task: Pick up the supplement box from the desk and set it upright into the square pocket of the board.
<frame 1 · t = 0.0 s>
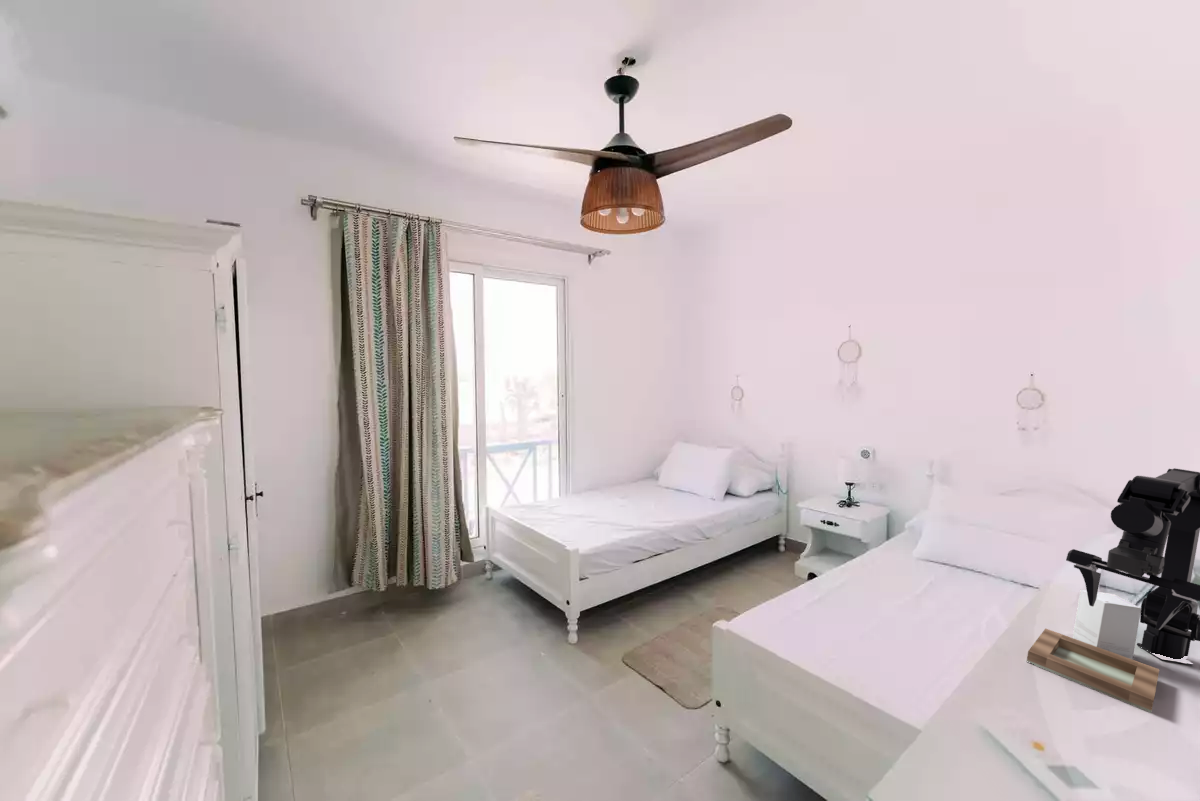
hand: (1123, 617, 96), 15 cm above the table, tool pointing down, fingers open, 9 cm apart
pocket board: (1091, 671, 104), on the table
supplement box: (1100, 651, 113), on the table
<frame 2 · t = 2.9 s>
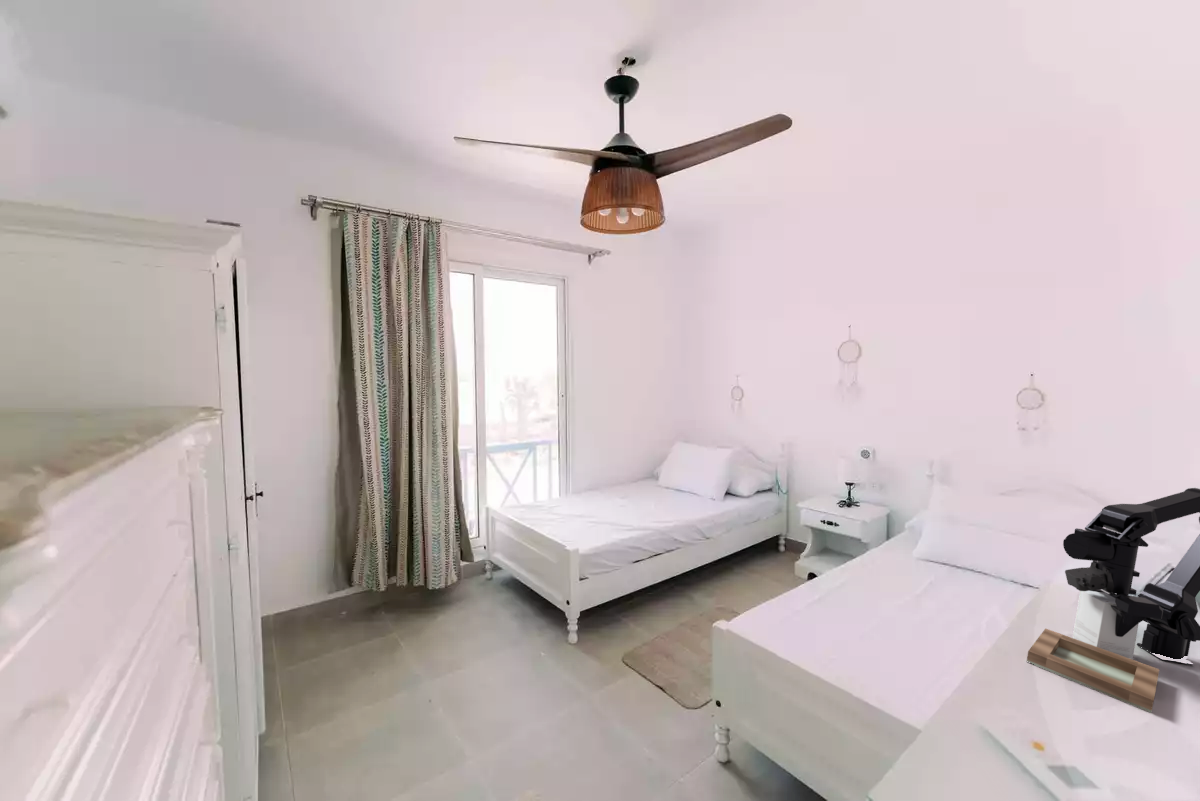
hand: (1104, 627, 113), 6 cm above the table, tool pointing down, fingers closed on supplement box, 7 cm apart
supplement box: (1100, 651, 113), on the table, touching gripper
when the fingers open (7 cm above the table, at t = 8.1 s): supplement box drops 1 cm, resting on pocket board.
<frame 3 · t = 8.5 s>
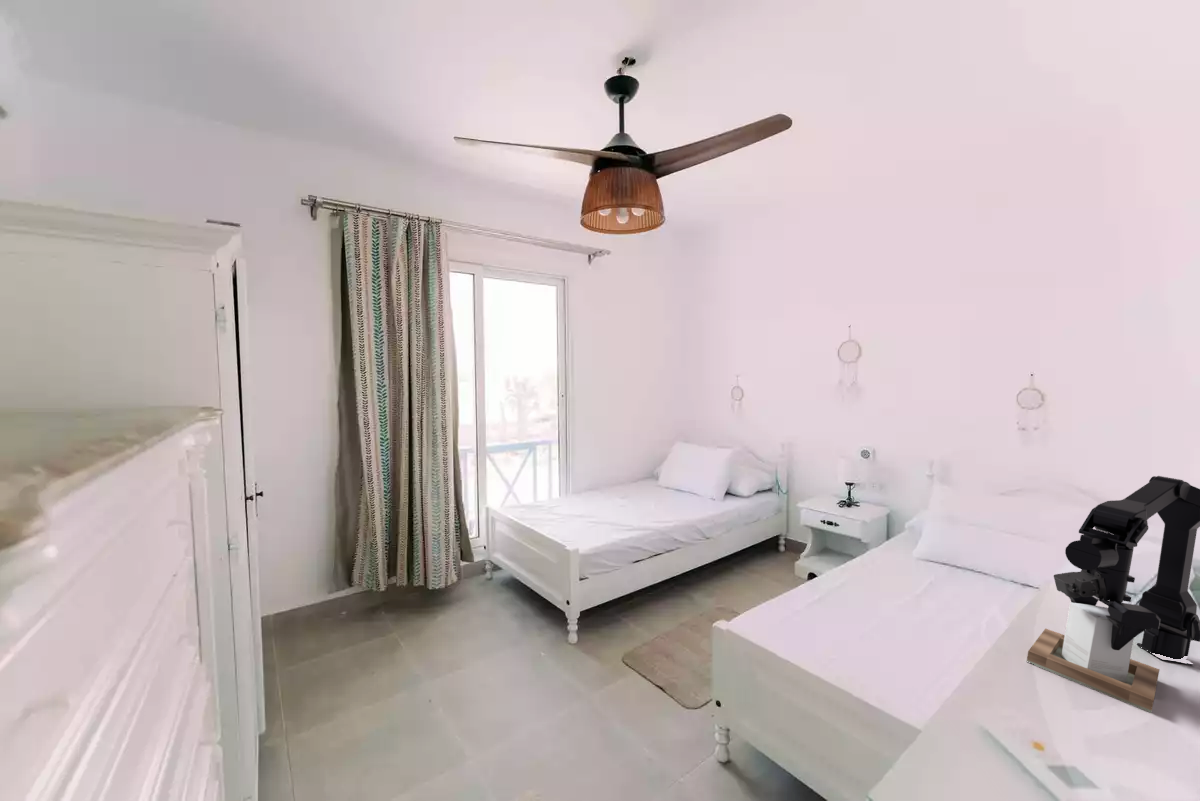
hand: (1097, 637, 103), 7 cm above the table, tool pointing down, fingers open, 9 cm apart
supplement box: (1092, 669, 104), resting on pocket board
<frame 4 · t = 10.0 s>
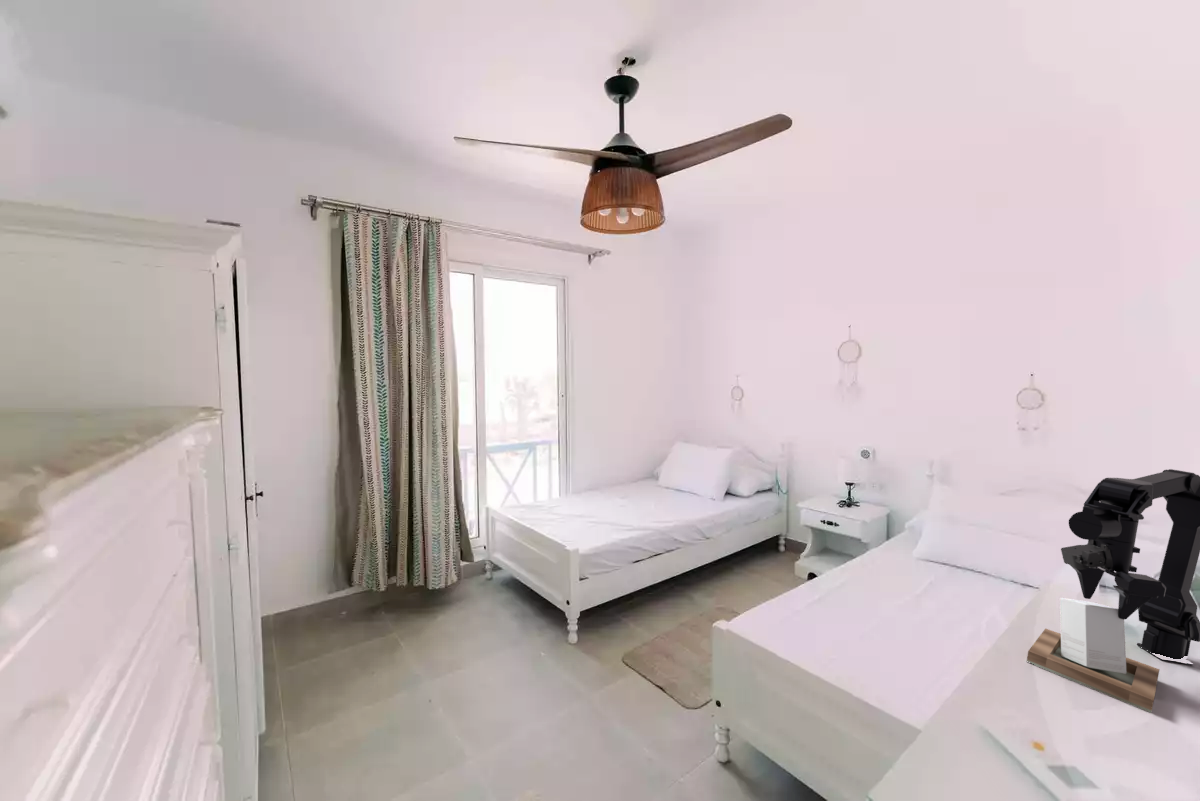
hand: (1103, 608, 106), 13 cm above the table, tool pointing down, fingers open, 9 cm apart
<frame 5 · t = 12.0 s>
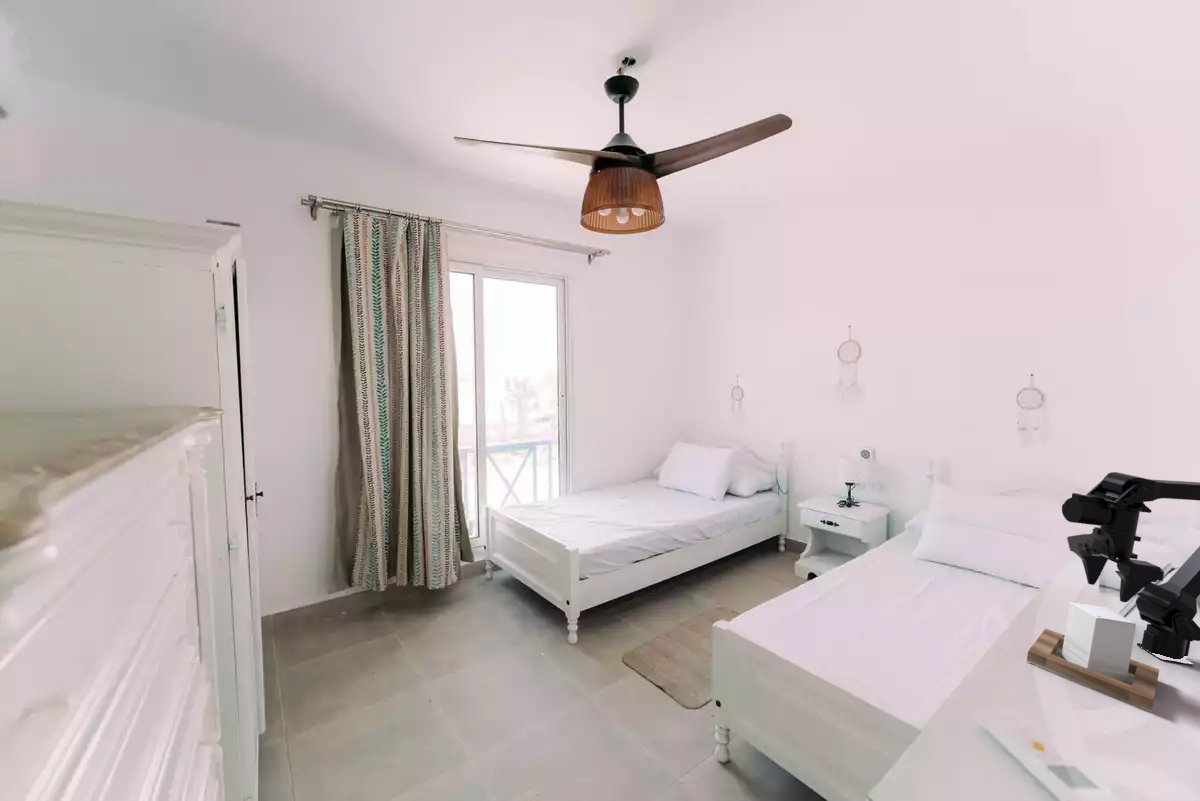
hand: (1106, 592, 114), 13 cm above the table, tool pointing down, fingers open, 9 cm apart
at the end: supplement box inside the target area on the pocket board (0.2 cm from its centre), point 0.3 cm above the pocket board's base; supplement box tilted 0°; the gripper is holding nothing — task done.
